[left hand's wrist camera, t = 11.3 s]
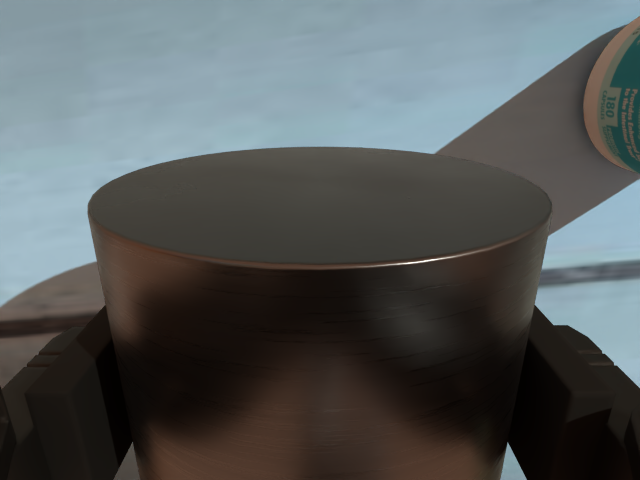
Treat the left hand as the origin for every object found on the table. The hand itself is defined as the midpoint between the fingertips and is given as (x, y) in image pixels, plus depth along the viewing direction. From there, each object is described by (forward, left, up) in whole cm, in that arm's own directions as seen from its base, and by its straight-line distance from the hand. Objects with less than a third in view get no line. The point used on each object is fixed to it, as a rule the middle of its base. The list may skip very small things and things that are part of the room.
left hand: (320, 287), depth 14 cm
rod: (+8, +2, 0) cm, 9 cm away
